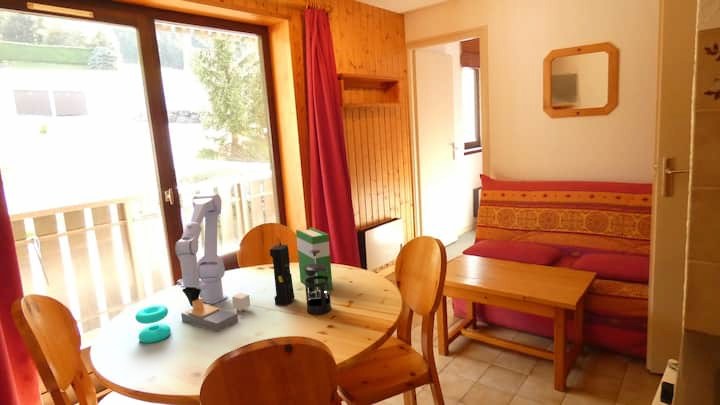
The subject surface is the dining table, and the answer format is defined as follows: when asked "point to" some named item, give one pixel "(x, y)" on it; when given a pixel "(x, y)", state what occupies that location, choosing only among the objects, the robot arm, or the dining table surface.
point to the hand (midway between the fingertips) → (194, 305)
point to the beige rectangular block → (241, 301)
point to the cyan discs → (156, 330)
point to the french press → (317, 297)
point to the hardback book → (310, 242)
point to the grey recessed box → (212, 319)
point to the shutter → (201, 308)
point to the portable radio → (282, 274)
